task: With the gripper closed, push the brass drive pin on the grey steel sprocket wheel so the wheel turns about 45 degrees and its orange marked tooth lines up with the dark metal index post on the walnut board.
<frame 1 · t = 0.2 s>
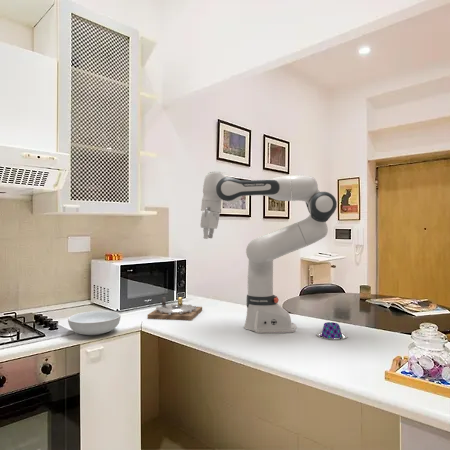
hand: (208, 238, 166), 39 cm above the countertop, tool pointing down, fingers open, 8 cm apart
sprocket: (176, 304, 187), point 5 cm above the countertop, hinge at 0.0°
index board: (176, 314, 187), on the countertop
serving bowl: (94, 332, 154), on the countertop
purple domed brimmed piece: (331, 337, 147), on the countertop
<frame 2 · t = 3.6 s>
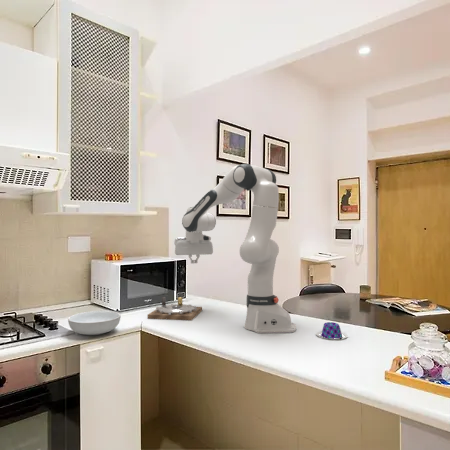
hand: (194, 263, 196), 25 cm above the countertop, tool pointing down, fingers closed
nothing on the countertop moved.
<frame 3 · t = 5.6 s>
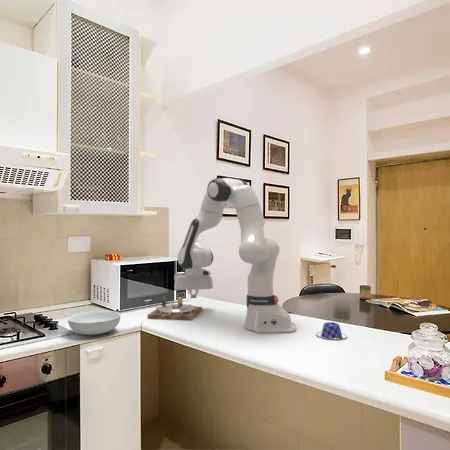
hand: (193, 297, 196), 7 cm above the countertop, tool pointing down, fingers closed
nothing on the countertop moved.
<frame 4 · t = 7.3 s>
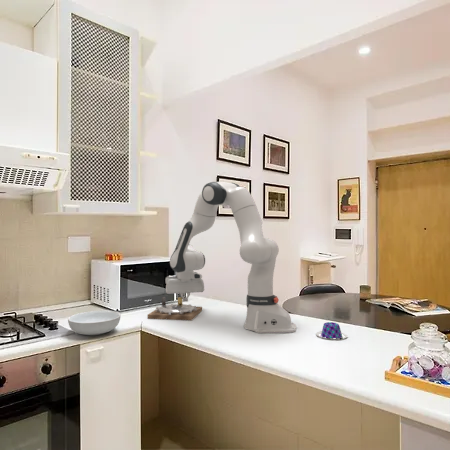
hand: (185, 301, 195), 5 cm above the countertop, tool pointing down, fingers closed
sprocket: (176, 304, 187), point 5 cm above the countertop, hinge at 0.4°, touching gripper
everything else where it was.
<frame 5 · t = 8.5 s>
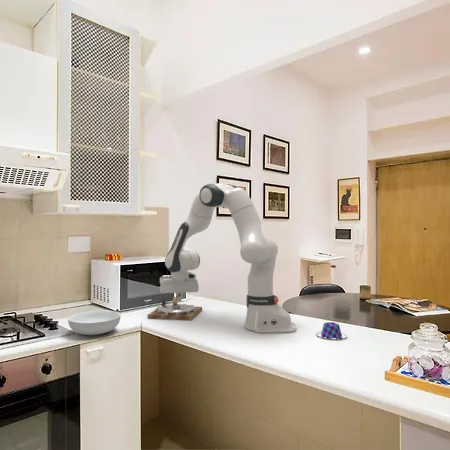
hand: (179, 301, 195), 5 cm above the countertop, tool pointing down, fingers closed
sprocket: (176, 304, 187), point 5 cm above the countertop, hinge at 21.1°, touching gripper
everything else where it was.
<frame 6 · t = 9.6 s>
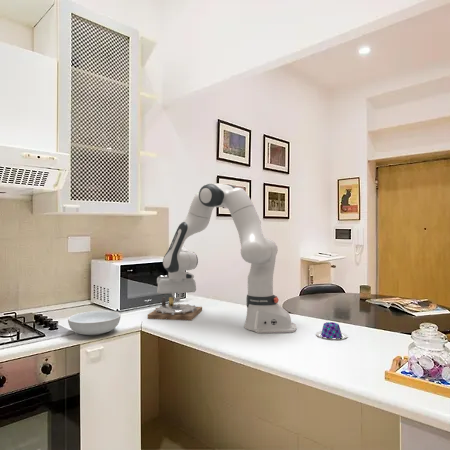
hand: (176, 301, 194), 5 cm above the countertop, tool pointing down, fingers closed
sprocket: (176, 304, 187), point 5 cm above the countertop, hinge at 38.5°, touching gripper
everything else where it was.
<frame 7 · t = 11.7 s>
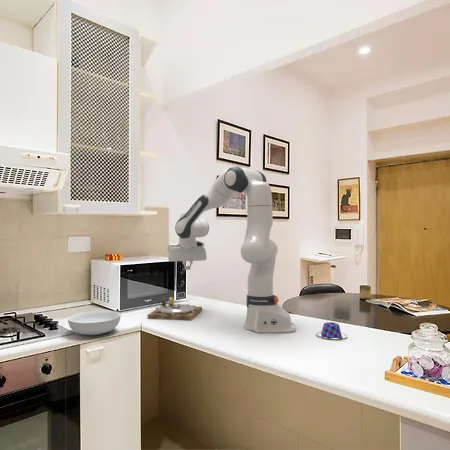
hand: (187, 269, 196), 22 cm above the countertop, tool pointing down, fingers closed
sprocket: (176, 304, 187), point 5 cm above the countertop, hinge at 38.5°
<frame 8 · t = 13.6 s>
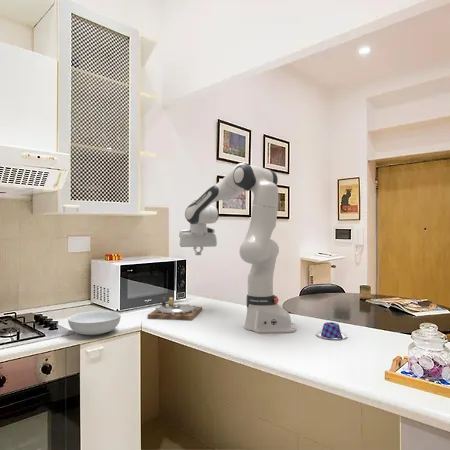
hand: (198, 255, 201), 29 cm above the countertop, tool pointing down, fingers closed
at the end: sprocket at +38° (first picture: +0°) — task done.
